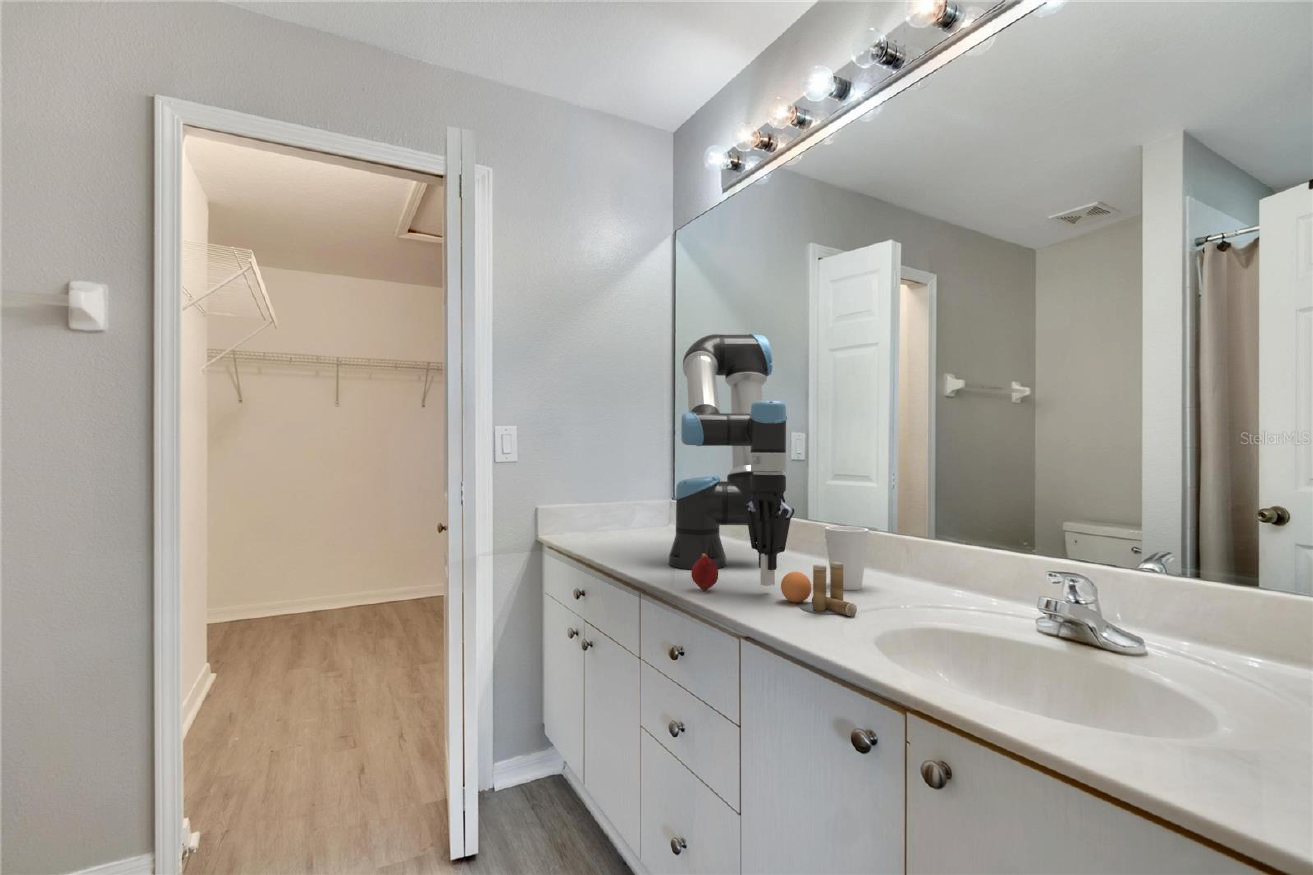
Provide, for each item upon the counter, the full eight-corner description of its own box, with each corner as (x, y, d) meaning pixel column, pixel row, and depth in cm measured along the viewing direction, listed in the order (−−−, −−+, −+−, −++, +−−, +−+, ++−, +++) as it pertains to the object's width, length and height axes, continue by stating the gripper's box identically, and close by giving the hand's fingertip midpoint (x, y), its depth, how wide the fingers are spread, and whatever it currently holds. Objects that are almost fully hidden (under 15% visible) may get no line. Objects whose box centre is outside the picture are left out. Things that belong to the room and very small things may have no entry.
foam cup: (816, 585, 135) (816, 528, 135) (839, 580, 141) (839, 525, 141) (855, 593, 128) (855, 532, 128) (876, 587, 134) (876, 529, 134)
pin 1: (813, 609, 114) (813, 564, 114) (826, 610, 114) (826, 565, 114) (813, 613, 112) (813, 566, 112) (826, 614, 111) (826, 567, 112)
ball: (816, 585, 116) (808, 611, 118) (813, 569, 122) (805, 594, 124) (785, 579, 117) (778, 605, 119) (783, 563, 122) (777, 588, 124)
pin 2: (830, 606, 117) (830, 561, 117) (842, 606, 117) (843, 562, 117) (830, 609, 115) (830, 564, 115) (843, 610, 114) (843, 564, 114)
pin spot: (800, 601, 120) (800, 600, 120) (843, 604, 118) (843, 603, 118) (799, 612, 112) (799, 611, 112) (846, 615, 110) (846, 614, 110)
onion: (718, 588, 132) (718, 551, 132) (718, 594, 126) (718, 556, 126) (691, 587, 132) (692, 551, 133) (690, 593, 127) (691, 555, 127)
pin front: (816, 591, 117) (853, 600, 110) (821, 600, 118) (858, 609, 110) (809, 600, 116) (846, 610, 109) (815, 609, 117) (852, 619, 109)
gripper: (734, 472, 131) (733, 581, 130) (778, 474, 120) (778, 592, 120) (758, 472, 135) (758, 577, 135) (803, 474, 125) (803, 588, 124)
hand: (767, 584), depth 127 cm, fingers closed
